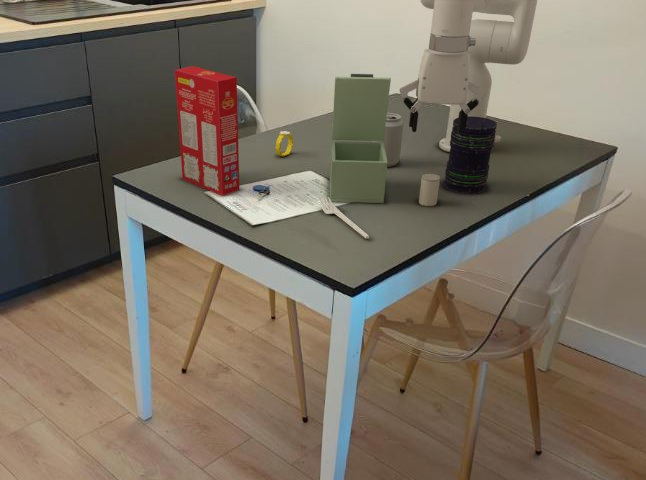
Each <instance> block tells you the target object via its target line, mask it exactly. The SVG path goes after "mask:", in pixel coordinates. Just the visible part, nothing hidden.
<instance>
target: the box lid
mask: <svg viewBox="0 0 646 480" xmlns="http://www.w3.org/2000/svg"><path fill="white" fill-rule="evenodd" d="M391 81H392V78H391V77H375V76H374V74H373V73H350V76H335V77H334V93H333V110H332V127H331V140H332V141H353V142H372V141H384V134H385V125H386V117H387V113H388V107H389V98H390V91H391V90H390V89H391Z"/></svg>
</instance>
